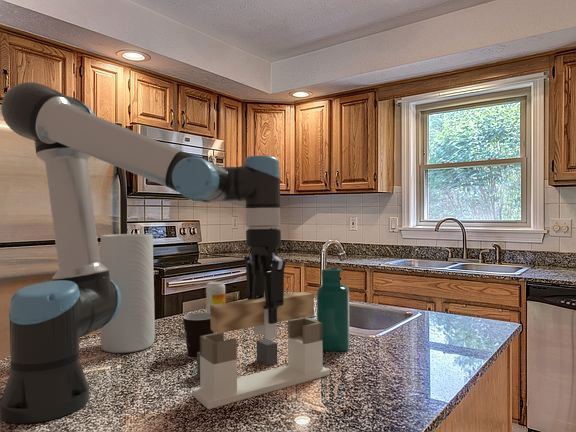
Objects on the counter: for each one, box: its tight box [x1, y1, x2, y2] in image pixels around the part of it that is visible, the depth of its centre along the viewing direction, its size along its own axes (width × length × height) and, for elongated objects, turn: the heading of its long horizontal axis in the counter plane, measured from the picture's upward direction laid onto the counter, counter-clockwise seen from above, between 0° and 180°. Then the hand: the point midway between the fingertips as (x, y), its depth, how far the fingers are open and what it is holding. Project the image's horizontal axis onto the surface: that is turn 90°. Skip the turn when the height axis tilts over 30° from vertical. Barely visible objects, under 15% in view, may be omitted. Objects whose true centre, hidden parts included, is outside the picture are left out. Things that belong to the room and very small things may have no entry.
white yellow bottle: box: [205, 281, 226, 313], centre depth 139 cm, size 6×6×15 cm
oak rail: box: [210, 291, 315, 333], centre depth 93 cm, size 24×4×5 cm, turn 125°
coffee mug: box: [182, 312, 215, 359], centre depth 116 cm, size 12×9×10 cm
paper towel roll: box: [99, 233, 156, 354], centre depth 121 cm, size 14×14×32 cm
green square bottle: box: [316, 267, 351, 352], centre depth 119 cm, size 10×8×22 cm
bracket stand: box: [191, 317, 331, 410], centre depth 93 cm, size 30×8×12 cm, turn 125°
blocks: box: [196, 338, 278, 377], centre depth 103 cm, size 19×5×5 cm, turn 125°
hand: (265, 335), depth 93 cm, fingers closed on oak rail, 4 cm apart
